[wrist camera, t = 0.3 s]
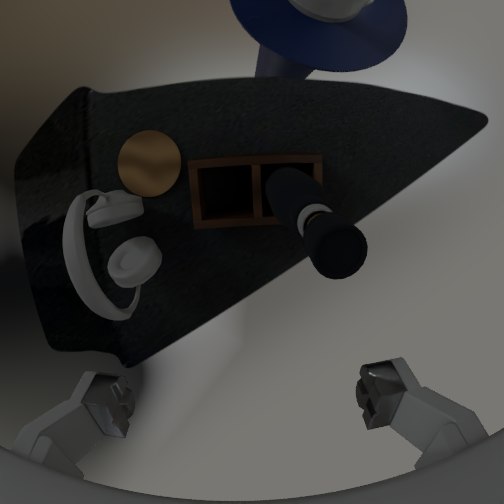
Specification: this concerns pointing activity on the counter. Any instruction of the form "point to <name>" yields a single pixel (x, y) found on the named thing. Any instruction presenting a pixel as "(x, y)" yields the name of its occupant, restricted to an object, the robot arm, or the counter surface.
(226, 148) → the counter surface
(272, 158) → the wooden compartment tray
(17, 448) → the robot arm
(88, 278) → the headphones
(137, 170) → the coaster
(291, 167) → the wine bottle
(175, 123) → the counter surface
